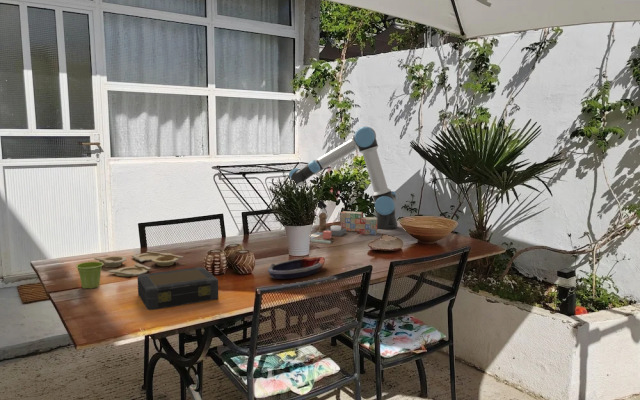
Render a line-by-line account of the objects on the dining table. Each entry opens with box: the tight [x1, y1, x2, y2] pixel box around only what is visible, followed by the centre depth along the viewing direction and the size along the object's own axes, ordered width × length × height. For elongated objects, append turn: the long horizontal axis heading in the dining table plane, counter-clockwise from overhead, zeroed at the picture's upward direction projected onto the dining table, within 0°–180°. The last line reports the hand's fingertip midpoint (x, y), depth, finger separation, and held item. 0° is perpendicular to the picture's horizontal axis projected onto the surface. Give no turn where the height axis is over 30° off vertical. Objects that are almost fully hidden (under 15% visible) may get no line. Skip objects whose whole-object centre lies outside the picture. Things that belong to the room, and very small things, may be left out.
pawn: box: [317, 212, 328, 233], centre depth 291 cm, size 5×5×11 cm
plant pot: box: [75, 261, 104, 289], centre depth 191 cm, size 9×9×9 cm
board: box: [310, 227, 347, 245], centre depth 281 cm, size 17×24×4 cm
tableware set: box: [93, 250, 184, 277], centre depth 223 cm, size 35×29×4 cm
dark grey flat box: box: [137, 266, 219, 311], centre depth 181 cm, size 25×20×8 cm
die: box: [322, 231, 332, 240], centre depth 274 cm, size 4×4×4 cm
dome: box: [330, 224, 341, 231], centre depth 285 cm, size 6×6×4 cm
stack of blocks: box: [340, 210, 378, 236], centre depth 296 cm, size 21×6×12 cm, turn 73°
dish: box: [267, 256, 326, 280], centre depth 212 cm, size 16×31×5 cm, turn 132°
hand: (317, 218), depth 293 cm, fingers open, 13 cm apart
